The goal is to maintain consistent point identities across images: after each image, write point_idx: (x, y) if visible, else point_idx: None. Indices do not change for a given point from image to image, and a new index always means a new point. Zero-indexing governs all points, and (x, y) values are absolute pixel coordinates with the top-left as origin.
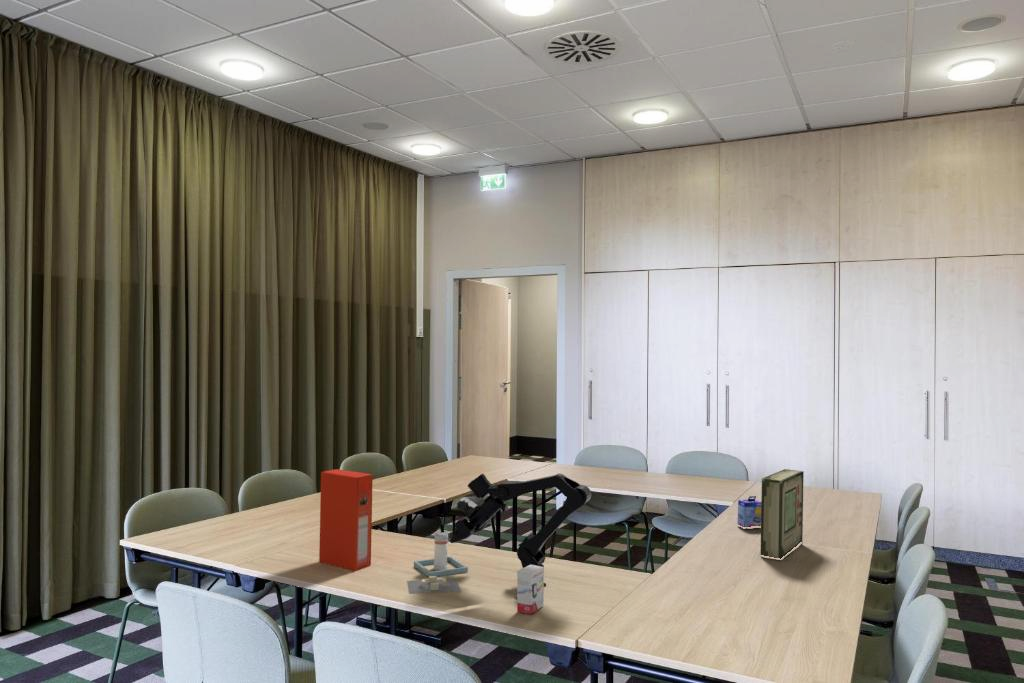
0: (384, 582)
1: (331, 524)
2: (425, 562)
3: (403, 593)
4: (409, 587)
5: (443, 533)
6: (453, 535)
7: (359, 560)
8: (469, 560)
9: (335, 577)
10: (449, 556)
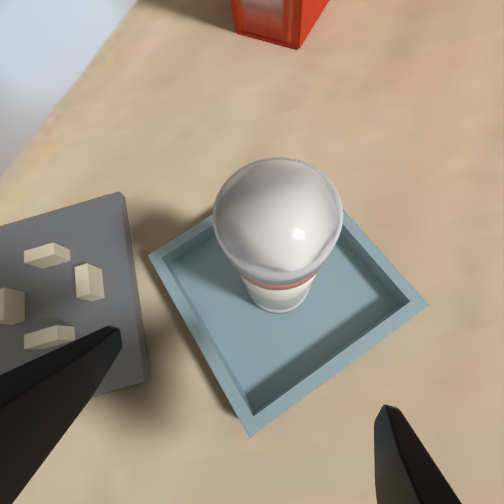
0: (140, 130)
1: None
2: None
3: (35, 208)
4: (49, 215)
5: (308, 225)
6: (6, 376)
7: (248, 3)
8: (499, 406)
9: (179, 12)
10: (421, 299)
